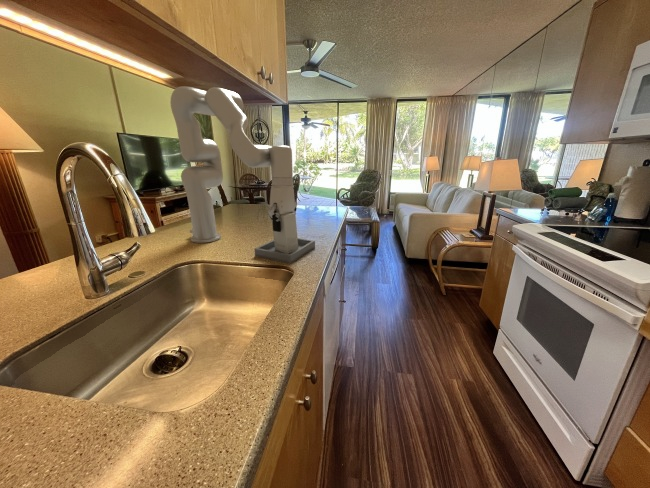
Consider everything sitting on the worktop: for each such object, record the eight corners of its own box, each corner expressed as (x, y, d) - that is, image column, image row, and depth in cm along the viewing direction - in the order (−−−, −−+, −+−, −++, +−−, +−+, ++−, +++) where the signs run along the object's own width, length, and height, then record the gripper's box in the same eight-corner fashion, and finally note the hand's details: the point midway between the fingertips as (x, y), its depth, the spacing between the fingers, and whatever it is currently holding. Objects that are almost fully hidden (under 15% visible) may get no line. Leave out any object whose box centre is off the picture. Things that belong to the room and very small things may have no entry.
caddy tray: (255, 256, 99) (254, 248, 98) (282, 242, 115) (282, 235, 114) (290, 263, 93) (290, 255, 92) (315, 247, 108) (315, 240, 107)
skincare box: (298, 250, 102) (297, 213, 97) (286, 254, 98) (284, 215, 93) (285, 245, 108) (283, 209, 103) (273, 249, 104) (270, 212, 99)
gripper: (287, 179, 104) (288, 221, 109) (258, 184, 89) (262, 232, 95) (303, 180, 101) (304, 223, 106) (276, 185, 86) (279, 235, 92)
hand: (284, 228), depth 100 cm, fingers open, 9 cm apart
